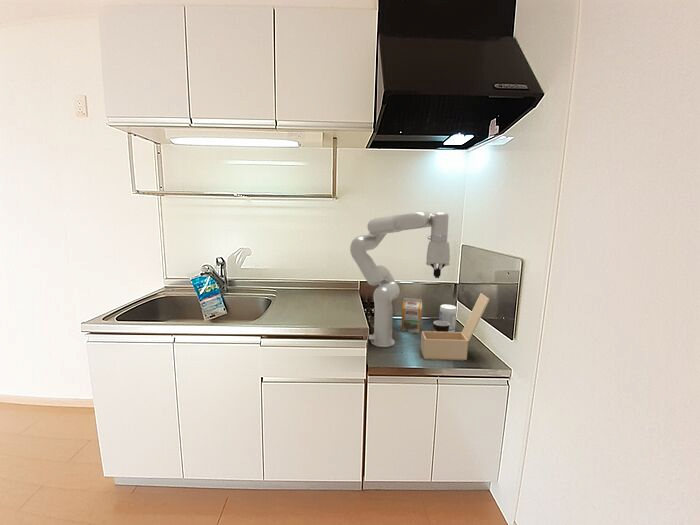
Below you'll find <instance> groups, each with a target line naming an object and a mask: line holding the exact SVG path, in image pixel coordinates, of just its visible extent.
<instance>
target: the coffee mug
mask: <svg viewBox="0 0 700 525" xmlns="http://www.w3.org/2000/svg"><path fill="white" fill-rule="evenodd" d="M432 324H433V331H434V332H448V331H449V325H450V323H448V322H446V321H439V320H434V321H433V323H432Z"/></svg>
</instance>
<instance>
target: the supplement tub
mask: <svg viewBox="0 0 700 525" xmlns="http://www.w3.org/2000/svg"><path fill="white" fill-rule="evenodd" d="M438 315H439V316H438V318H439V319H438V321H446V322H448V323H450V325H449V331H448V332H456V322H457V306H456V305H452V304H445V303H444V304H441V305H440V306H439V314H438Z"/></svg>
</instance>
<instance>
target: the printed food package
mask: <svg viewBox="0 0 700 525" xmlns="http://www.w3.org/2000/svg"><path fill="white" fill-rule="evenodd" d="M422 316H423V300H422V299H417V298H406V297H404V298H403V302H402V308H401V325H400V326H401V333H405V332H407V333H408V334H414V333H416V334H417V335H420V334H421V332H422V320H423V317H422ZM407 333H406V334H407Z"/></svg>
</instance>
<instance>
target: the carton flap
mask: <svg viewBox="0 0 700 525" xmlns="http://www.w3.org/2000/svg"><path fill="white" fill-rule="evenodd" d="M490 300H491V299H490V298H489V297H487V296H486V295H484V293H481V292H480V294H479V296H478V297H477V300H476V302H475V304H474V305H473V308H472V310H471V312H470V314H469V315H468V318H467V320H466V323H465V324H464V327H463V329H462V330H461V332H462V333H463V335H464V336H465V337H466V339H467V340H468V342H470V340H471V338H472V336H473V335H474V332H475V330H476V328H477V327H478V324H479V322H480V320H481V319H482V316H483V314H484V312H485V310H486V308H487V306H488V305H489V304H488V303H489V301H490Z"/></svg>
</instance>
